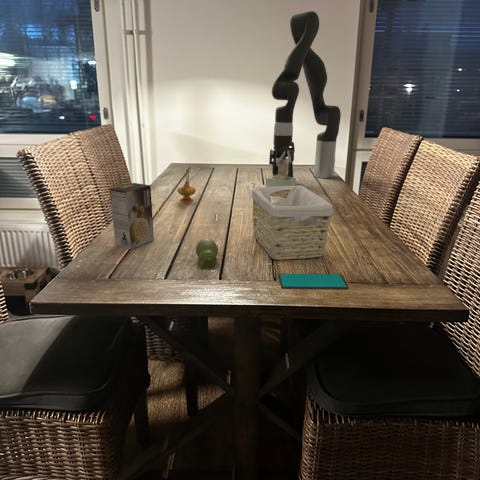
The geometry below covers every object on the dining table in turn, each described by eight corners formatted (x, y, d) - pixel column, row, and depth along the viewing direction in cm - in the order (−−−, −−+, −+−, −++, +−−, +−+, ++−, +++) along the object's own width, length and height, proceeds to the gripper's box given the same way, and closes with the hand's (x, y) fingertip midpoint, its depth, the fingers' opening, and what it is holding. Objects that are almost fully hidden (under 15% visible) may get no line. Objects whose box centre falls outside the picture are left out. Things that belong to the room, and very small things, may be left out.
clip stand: (276, 184, 197) (276, 172, 195) (306, 190, 187) (307, 178, 185) (253, 190, 185) (254, 178, 184) (285, 196, 176) (285, 184, 174)
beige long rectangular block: (279, 185, 189) (281, 154, 184) (287, 187, 186) (289, 155, 182) (273, 187, 186) (275, 155, 181) (281, 189, 183) (283, 156, 179)
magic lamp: (173, 207, 158) (172, 177, 154) (180, 195, 175) (179, 167, 171) (192, 207, 158) (192, 177, 154) (197, 195, 175) (197, 168, 171)
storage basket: (248, 233, 133) (250, 185, 128) (299, 230, 136) (302, 184, 131) (270, 264, 111) (272, 207, 106) (330, 260, 114) (335, 205, 109)
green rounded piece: (216, 235, 114) (220, 255, 105) (216, 252, 116) (219, 273, 108) (195, 235, 113) (196, 255, 104) (195, 253, 116) (196, 274, 107)
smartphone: (349, 287, 98) (281, 286, 97) (348, 290, 98) (281, 290, 98) (341, 273, 105) (278, 273, 104) (341, 277, 105) (278, 276, 105)
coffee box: (138, 236, 128) (134, 182, 123) (154, 240, 125) (151, 185, 120) (114, 245, 121) (109, 188, 116) (131, 250, 118) (126, 191, 112)
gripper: (285, 131, 186) (283, 169, 191) (265, 134, 175) (263, 174, 181) (300, 133, 181) (298, 172, 187) (280, 135, 171) (278, 177, 176)
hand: (281, 173), depth 184 cm, fingers open, 8 cm apart
